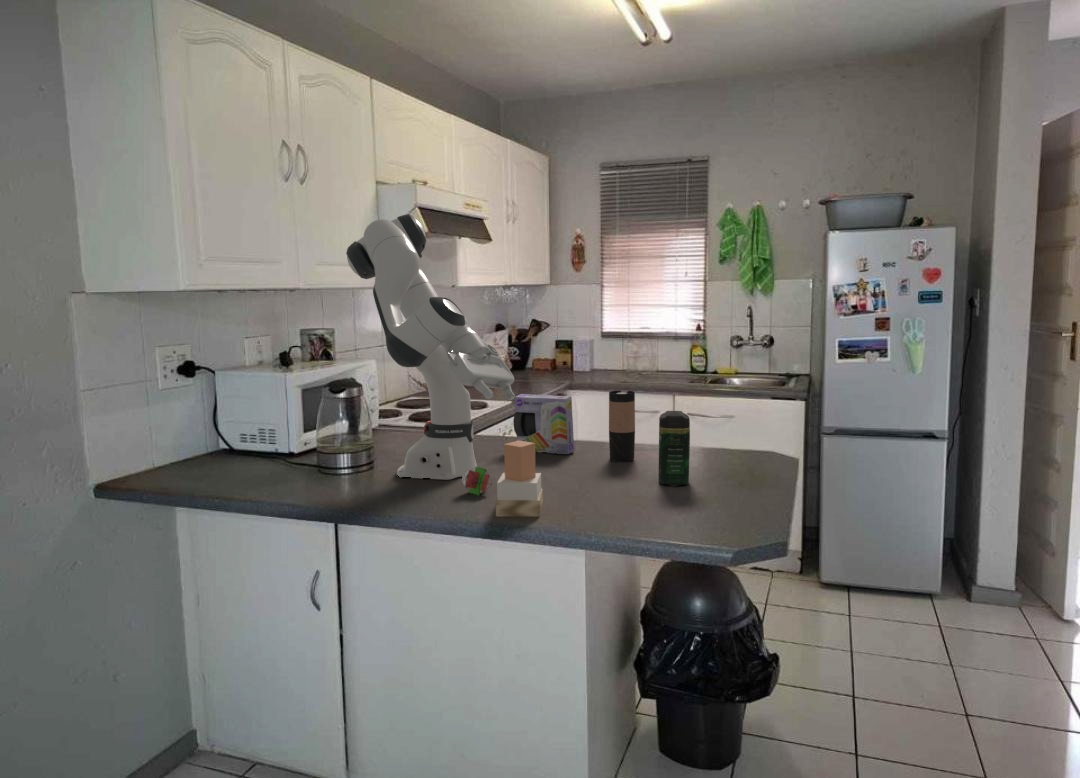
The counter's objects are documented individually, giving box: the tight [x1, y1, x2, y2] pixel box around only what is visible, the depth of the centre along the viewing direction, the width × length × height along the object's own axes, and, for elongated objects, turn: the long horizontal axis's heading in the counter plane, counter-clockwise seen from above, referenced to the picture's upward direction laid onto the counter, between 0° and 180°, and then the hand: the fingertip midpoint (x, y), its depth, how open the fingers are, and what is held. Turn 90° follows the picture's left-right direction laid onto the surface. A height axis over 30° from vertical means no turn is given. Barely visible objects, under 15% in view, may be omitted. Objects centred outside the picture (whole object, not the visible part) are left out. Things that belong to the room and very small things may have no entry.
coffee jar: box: [658, 410, 691, 487], centre depth 197 cm, size 10×8×19 cm
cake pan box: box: [512, 393, 575, 455], centre depth 235 cm, size 19×5×18 cm, turn 61°
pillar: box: [503, 440, 537, 482], centre depth 174 cm, size 5×5×8 cm
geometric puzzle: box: [461, 466, 493, 497], centre depth 190 cm, size 7×7×8 cm
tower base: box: [495, 488, 544, 517], centre depth 176 cm, size 10×10×4 cm
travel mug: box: [608, 390, 636, 462], centre depth 223 cm, size 8×8×20 cm
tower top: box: [496, 472, 542, 500], centre depth 175 cm, size 9×9×4 cm
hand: (501, 397), depth 177 cm, fingers open, 8 cm apart
